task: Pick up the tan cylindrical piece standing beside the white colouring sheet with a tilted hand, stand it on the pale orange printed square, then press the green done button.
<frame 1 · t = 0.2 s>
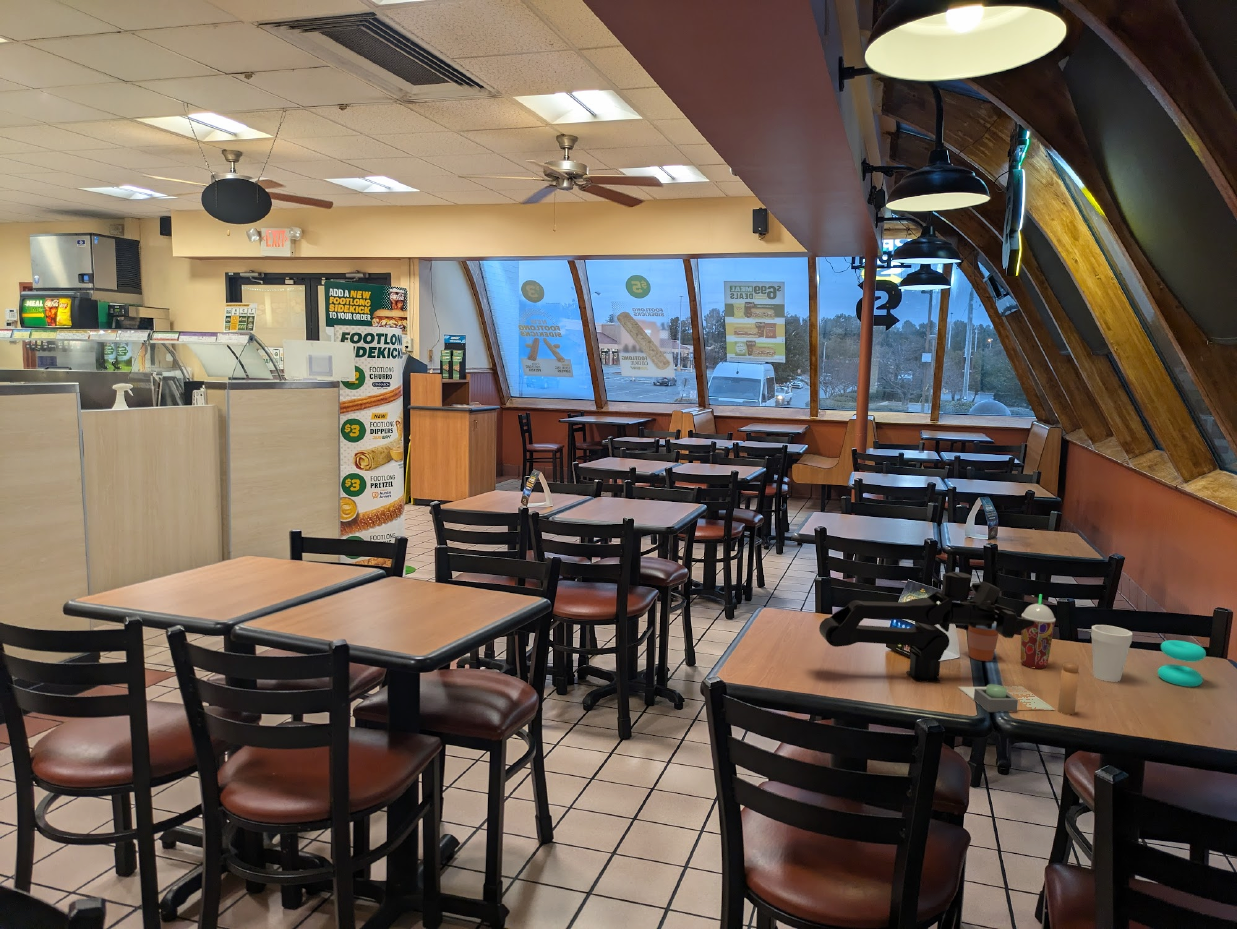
hand: (1024, 617, 221), 17 cm above the table, tool horizontal, fingers open, 9 cm apart
foam cup: (1106, 678, 227), on the table
donuts: (1179, 681, 226), on the table
cup with straw: (980, 658, 239), on the table
done button: (996, 693, 204), point 3 cm above the table, slide at 0.0 cm
sheet: (1005, 698, 209), on the table
tan cylindrical piece: (1066, 711, 202), on the table
smoothie: (1033, 666, 234), on the table
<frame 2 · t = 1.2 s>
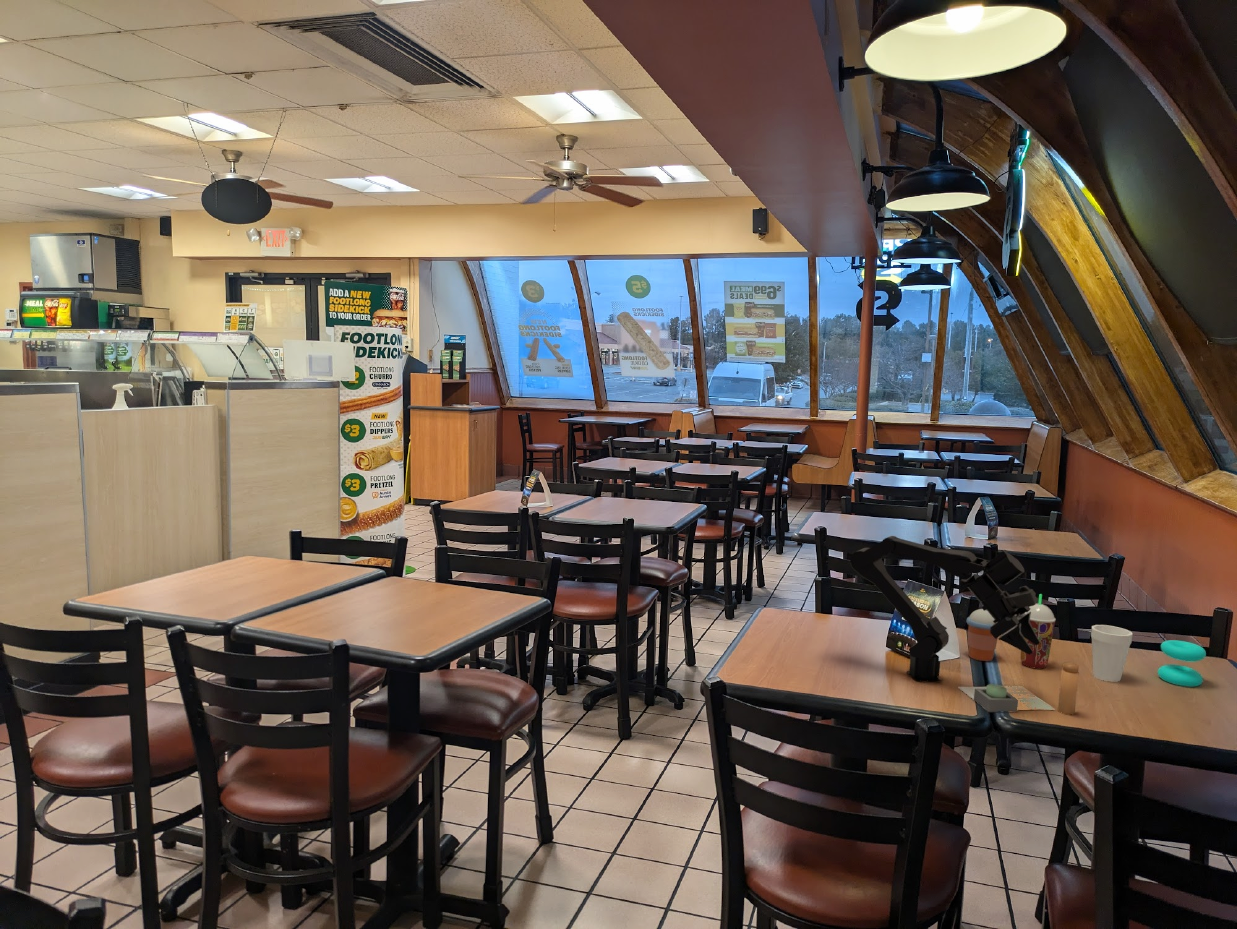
hand: (1034, 648, 205), 14 cm above the table, tool tilted 45°, fingers open, 9 cm apart
nothing on the table moved.
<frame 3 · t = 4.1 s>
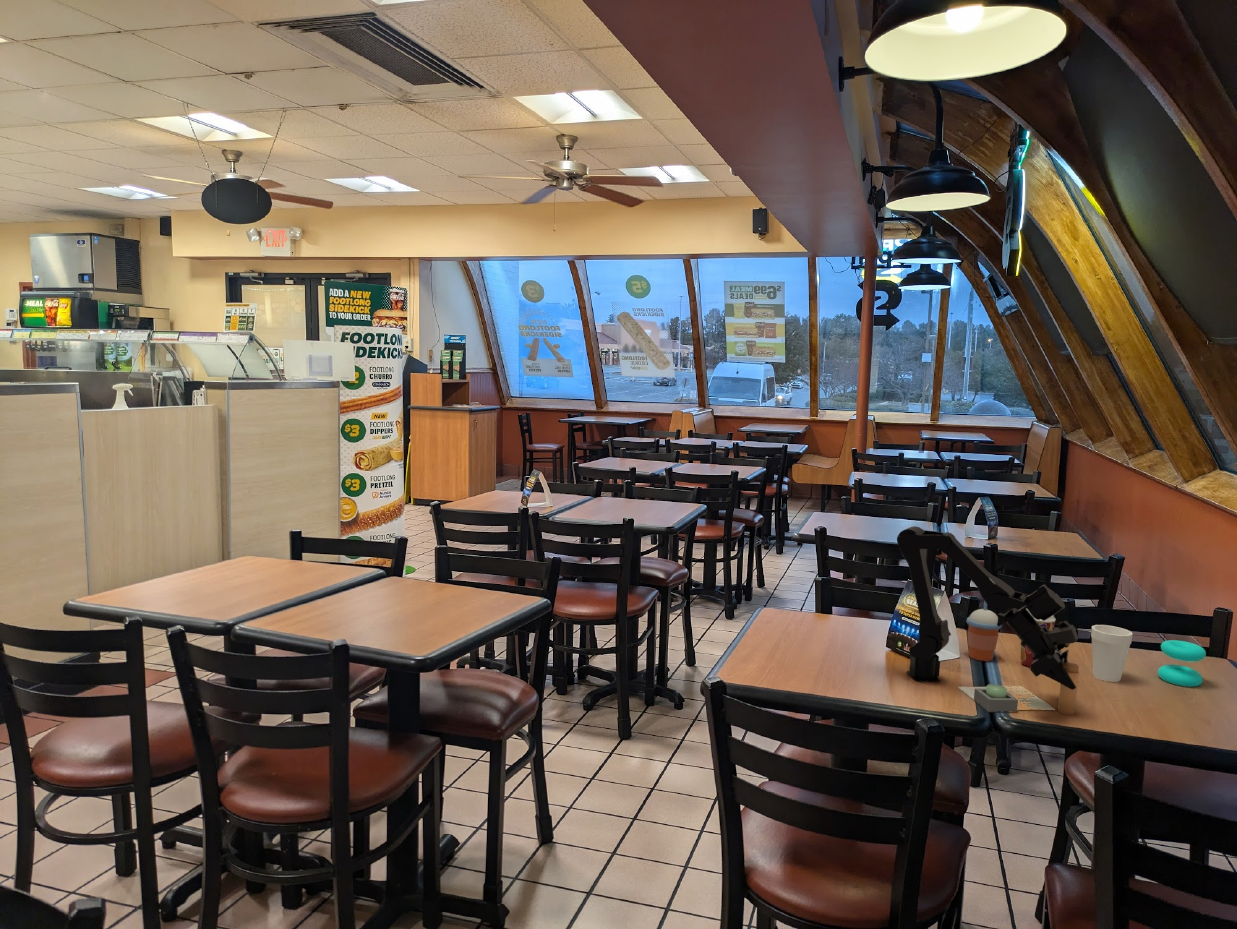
hand: (1075, 686, 201), 7 cm above the table, tool tilted 45°, fingers closed on tan cylindrical piece, 4 cm apart
tan cylindrical piece: (1066, 711, 202), on the table, touching gripper
everything else where it was.
when the fingers open (8 cm above the table, at t = 7.6 s): tan cylindrical piece stays where it is, resting on sheet.
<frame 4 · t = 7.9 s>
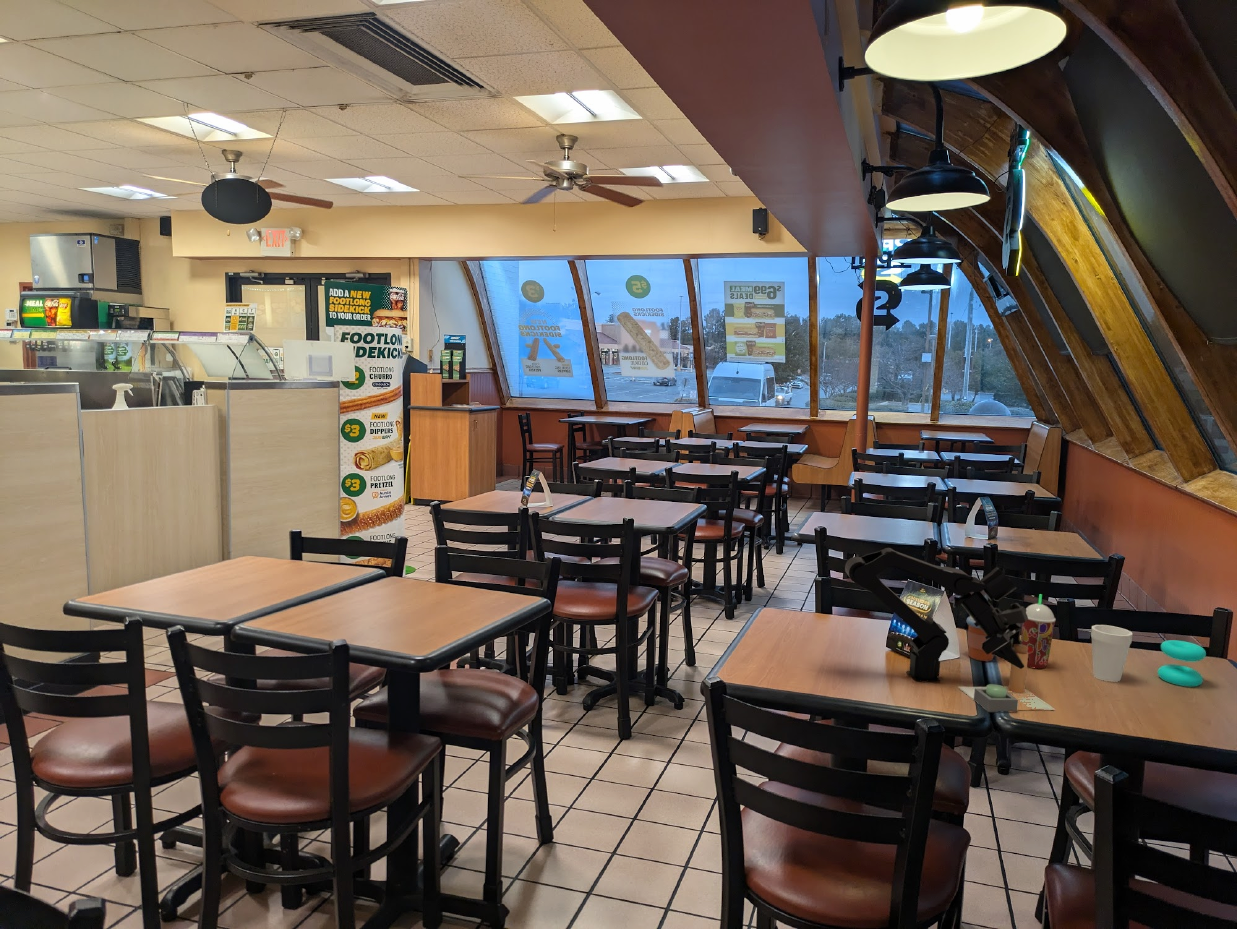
hand: (1025, 664, 212), 8 cm above the table, tool tilted 45°, fingers open, 6 cm apart
tan cylindrical piece: (1016, 690, 214), resting on sheet
everything else where it was.
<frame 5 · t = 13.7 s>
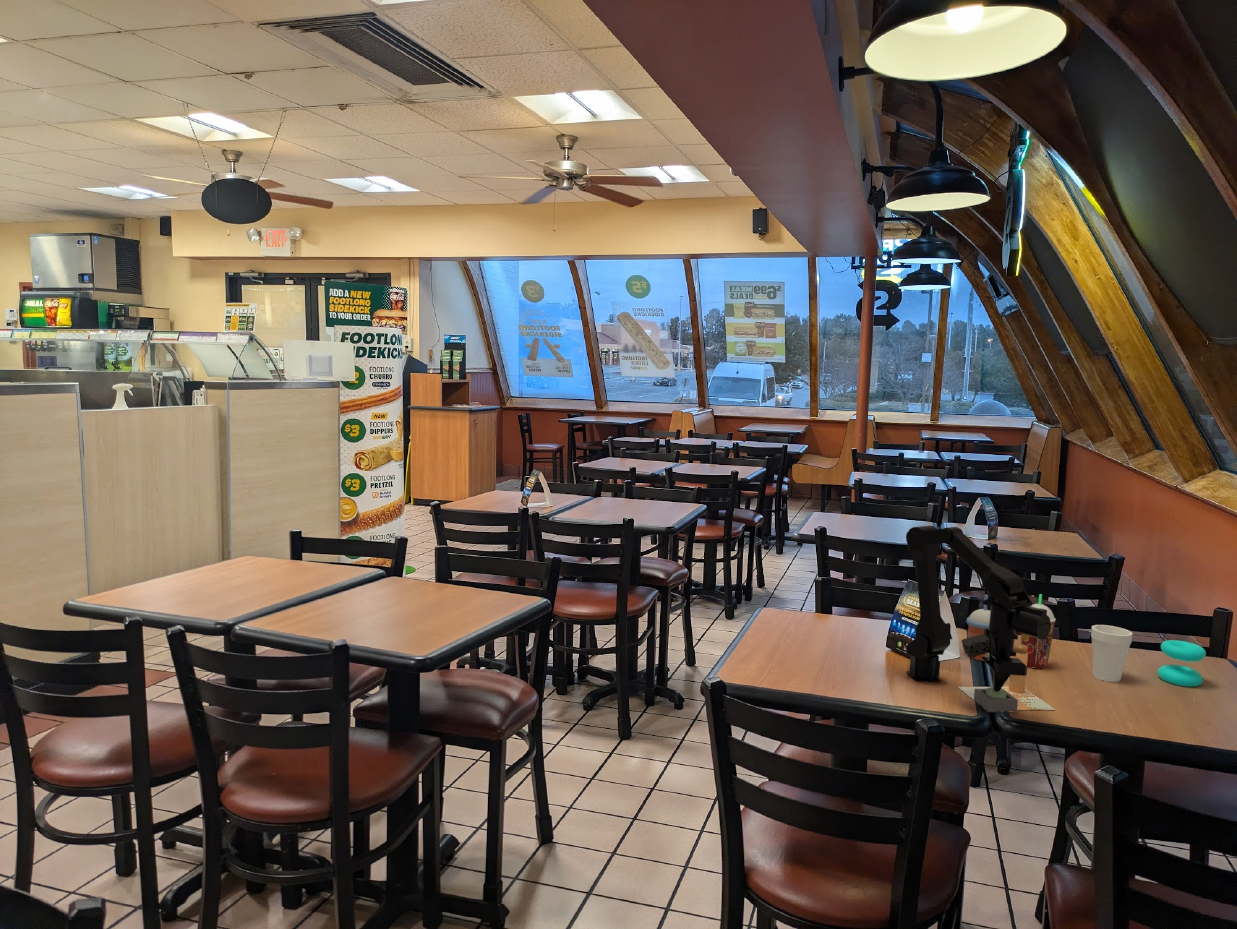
hand: (996, 690, 204), 4 cm above the table, tool pointing down, fingers closed, pressing on done button
done button: (995, 696, 204), point 2 cm above the table, slide at 0.8 cm, touching gripper
everything else where it was.
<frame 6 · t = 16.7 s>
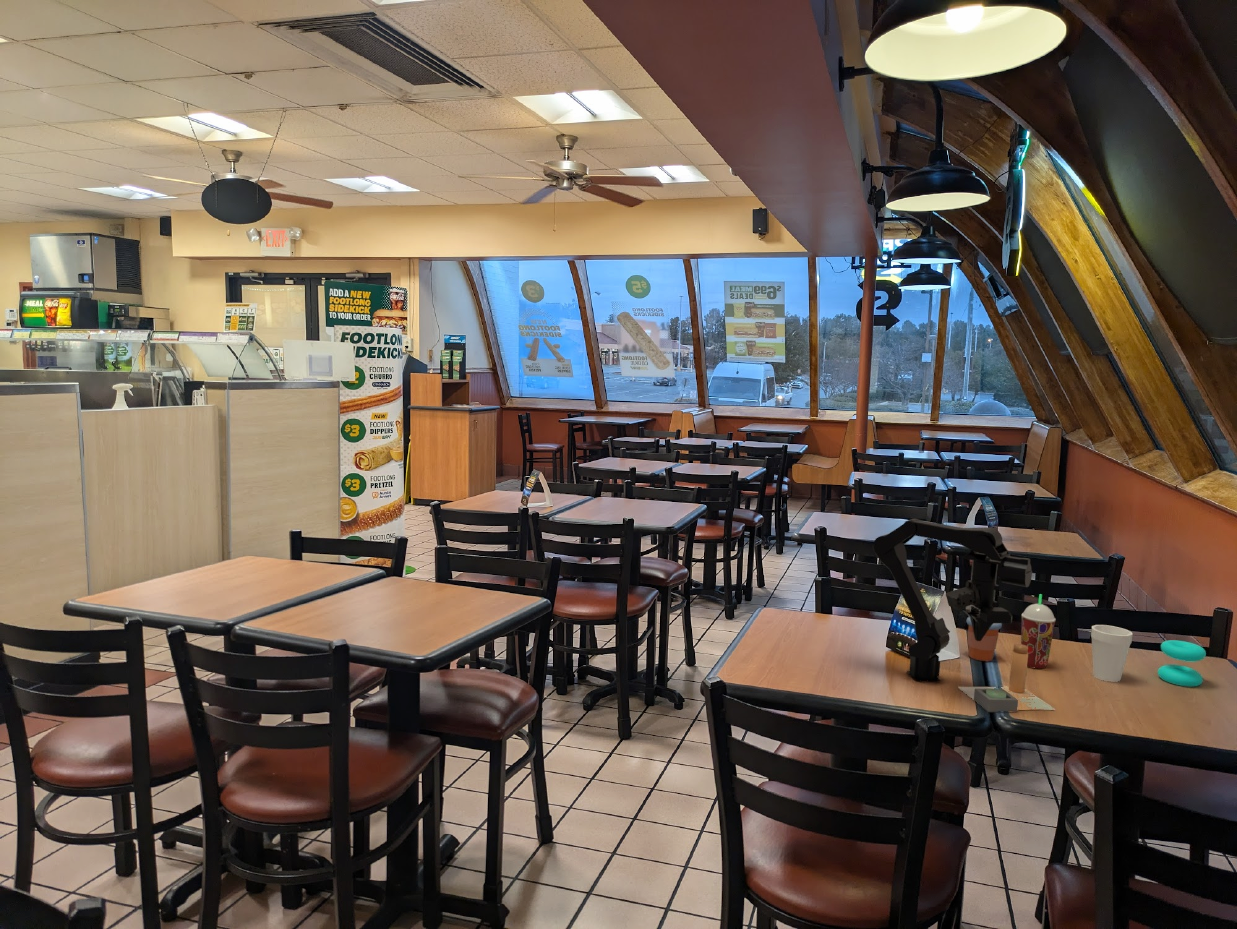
hand: (978, 640, 212), 13 cm above the table, tool pointing down, fingers closed
done button: (995, 697, 204), point 2 cm above the table, slide at 1.1 cm
everything else where it was.
at the end: tan cylindrical piece 0.0 cm from the target spot on the sheet, point 0.4 cm above the sheet's base; tan cylindrical piece tilted 1°; done button slide at 1.1 cm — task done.
